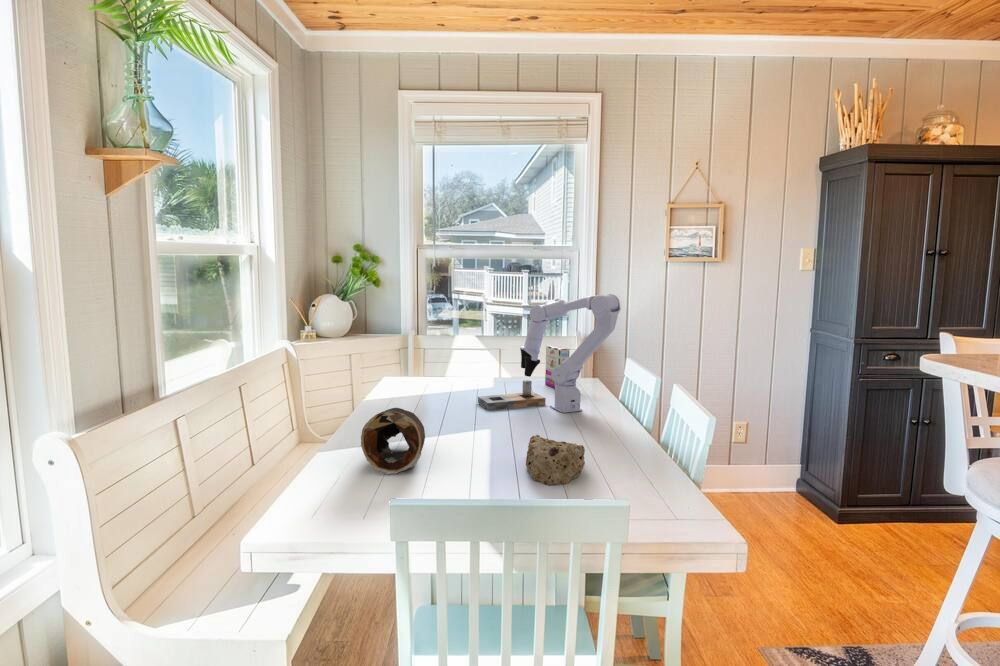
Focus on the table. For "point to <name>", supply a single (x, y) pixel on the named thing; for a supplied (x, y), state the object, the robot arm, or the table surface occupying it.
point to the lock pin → (526, 388)
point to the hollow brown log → (386, 428)
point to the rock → (554, 460)
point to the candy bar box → (554, 361)
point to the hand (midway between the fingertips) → (525, 372)
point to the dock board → (510, 401)
